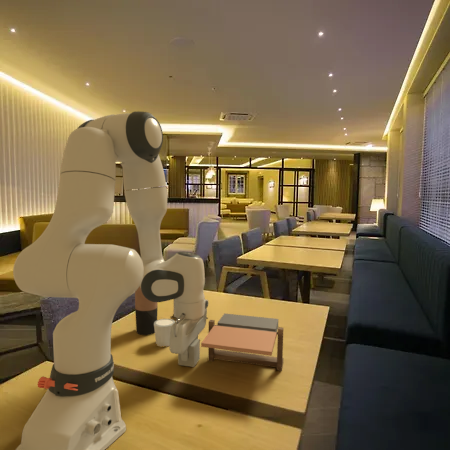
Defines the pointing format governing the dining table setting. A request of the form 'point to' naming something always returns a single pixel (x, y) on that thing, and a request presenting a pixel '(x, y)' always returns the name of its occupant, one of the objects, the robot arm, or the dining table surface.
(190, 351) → the grey block
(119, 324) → the dining table surface
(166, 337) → the shot glass
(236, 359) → the frame
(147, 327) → the travel mug
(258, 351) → the trapdoor
